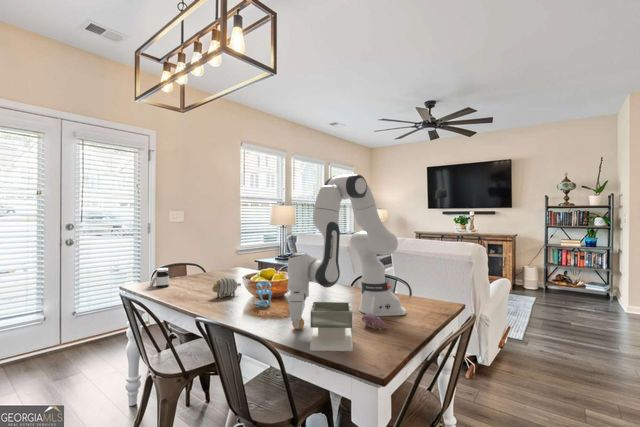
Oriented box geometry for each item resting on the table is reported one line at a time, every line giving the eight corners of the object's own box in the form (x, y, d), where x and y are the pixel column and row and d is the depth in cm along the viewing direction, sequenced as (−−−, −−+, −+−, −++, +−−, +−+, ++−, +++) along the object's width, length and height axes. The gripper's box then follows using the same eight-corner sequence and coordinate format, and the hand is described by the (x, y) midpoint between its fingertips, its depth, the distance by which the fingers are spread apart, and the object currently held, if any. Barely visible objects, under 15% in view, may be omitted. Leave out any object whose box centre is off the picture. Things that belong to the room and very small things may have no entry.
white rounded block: (169, 287, 214) (169, 269, 214) (150, 289, 208) (150, 270, 208) (167, 283, 224) (167, 266, 224) (149, 285, 219) (149, 268, 219)
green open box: (315, 308, 145) (315, 294, 145) (348, 308, 144) (348, 295, 145) (310, 328, 116) (310, 311, 116) (352, 328, 115) (352, 312, 115)
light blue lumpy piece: (260, 308, 167) (260, 284, 167) (253, 304, 174) (253, 281, 174) (274, 305, 172) (274, 282, 171) (267, 302, 178) (267, 279, 178)
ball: (304, 327, 139) (304, 315, 139) (303, 331, 134) (303, 319, 134) (293, 326, 139) (293, 315, 139) (291, 331, 134) (291, 318, 134)
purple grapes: (363, 329, 141) (358, 316, 139) (368, 322, 144) (364, 309, 142) (382, 335, 134) (378, 321, 132) (388, 327, 137) (384, 314, 135)
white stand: (315, 320, 147) (315, 301, 147) (349, 321, 147) (349, 301, 147) (309, 350, 115) (309, 326, 115) (352, 351, 115) (352, 326, 115)
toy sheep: (208, 297, 188) (208, 277, 188) (235, 292, 200) (235, 274, 200) (217, 301, 181) (217, 280, 180) (244, 295, 192) (244, 276, 192)
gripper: (293, 286, 147) (293, 317, 147) (287, 298, 127) (287, 334, 127) (307, 286, 147) (308, 317, 147) (303, 298, 126) (303, 334, 126)
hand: (298, 325), depth 137 cm, fingers closed on ball, 5 cm apart
